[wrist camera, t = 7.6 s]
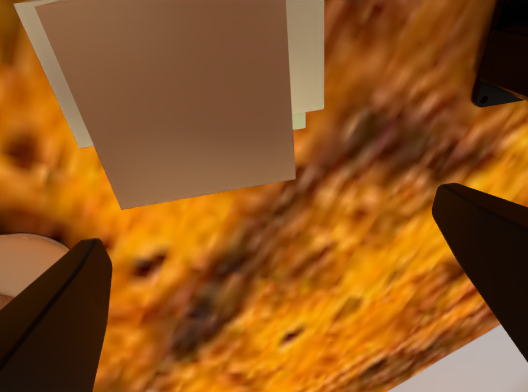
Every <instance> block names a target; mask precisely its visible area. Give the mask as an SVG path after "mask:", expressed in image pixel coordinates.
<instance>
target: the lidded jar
mask: <svg viewBox="0 0 528 392" xmlns="http://www.w3.org/2000/svg"><path fill="white" fill-rule="evenodd" d="M69 250H70V249H69V248H68V247H66V246H65V245H63V244H62V243H60V242H58V241H56V240H54V239H51V238H48V237H46V236H42V235H37V234H31V233H14V234H8V235H0V310H1V309H2V308H3V307H4V306H5V305H6V304H8V303H9V302H10V301H11V300H12V299H13V298H15V297H16V296H17V295H18V294H19V293H20V292H22V291H23V290H24V289H25V288H26V287H27V286H29V285H30V284H31V283H32V282H33V281H34V280H36V279H37V278H38V277H39V276H40V275H41V274H43V273H44V272H45V271H46V270H47V269H48V268H49V267H51V266H52V265H53V264H54V263H55V262H56V261H58V260H59V259H60V258H61V257H62V256H63V255H65V254H66V253H67V252H68V251H69Z"/></svg>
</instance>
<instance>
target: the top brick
mask: <svg viewBox="0 0 528 392" xmlns="http://www.w3.org/2000/svg"><path fill="white" fill-rule="evenodd" d="M35 9H36V12H37V14H38V16H39V19H40V21H41V23H42V26H43V28H44V30H45V33H46V35H47V37H48V40H49V42H50V44H51V47H52V49H53V51H54V54H55V56H56V58H57V61H58V63H59V65H60V68H61V70H62V72H63V75H64V77H65V79H66V82H67V84H68V86H69V89H70V91H71V93H72V96H73V98H74V100H75V103H76V105H77V107H78V110H79V112H80V114H81V117H82V119H83V121H84V124H85V126H86V128H87V131H88V133H89V135H90V138H91V140H92V142H93V145H94V147H95V149H96V152H97V154H98V156H99V159H100V161H101V163H102V166H103V168H104V170H105V173H106V175H107V177H108V180H109V182H110V184H111V187H112V189H113V191H114V193H115V196H116V198H117V200H118V203H119V205H120V207H121V210H122V209H128V208H134V207H139V206H145V205H151V204H156V203H162V202H168V201H173V200H179V199H185V198H190V197H196V196H202V195H207V194H213V193H219V192H224V191H230V190H236V189H241V188H247V187H253V186H258V185H264V184H270V183H275V182H281V181H287V180H292V179H296V177H295V159H294V141H293V122H292V104H291V86H290V68H289V50H288V32H287V14H286V0H60V1H56V2H52V3H47V4H43V5H39V6H35Z"/></svg>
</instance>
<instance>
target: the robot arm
mask: <svg viewBox="0 0 528 392" xmlns="http://www.w3.org/2000/svg"><path fill="white" fill-rule="evenodd" d="M507 1H508V0H498V2H497V6H496V10H495V14H494V18H493V22H492V25H491V29H490V33H489V37H488V41H487V45H486V49H485V53H484V56H483V60H482V64H481V68H480V72H479V76H478V80H477V83H476V87H475V91H474V95H473V99H472V102H473V104H474V105H476V106H478V107H487V106H493V105H499V104H505V103H511V102H517V101H523V100H526V101H528V0H510V1H509V3H508V4H507ZM483 96H484V97H483ZM482 97H483V99H482V100H481V98H482ZM480 100H481V101H480ZM432 215H433V218H434V220H435V222H436V223H437V225H438V227H439V229H440V231H441V233H442V234H443V236H444V238H445V240H446V242H447V243H448V245H449V247H450V249H451V251H452V253H453V254H454V256H455V258H456V259H457V261H458V263H459V264H460V266H461V267H462V269H463V270H464V272H465V273H466V275H467V276H468V278H469V279H470V280H471V282H472V283H473V285H474V286H475V288H476V289H477V290H478V292H479V293H480V295H481V296H482V298H483V299H484V301H485V302H486V303H487V305H488V306H489V308H490V309H491V311H492V312H493V313H494V315H495V316H496V318H497V319H498V321H499V322H500V323H501V325H502V326H503V328H504V329H505V331H506V332H507V333H508V335H509V336H510V338H511V339H512V341H513V342H514V343H515V345H516V346H517V348H518V349H519V351H520V352H521V354H522V355H523V356H524V358H525V359H526V361H527V362H528V207H525V206H522V205H519V204H516V203H513V202H511V201H508V200H505V199H502V198H499V197H496V196H493V195H490V194H487V193H484V192H481V191H478V190H475V189H472V188H470V187H467V186H464V185H461V184H458V183H449V184H442V185H440V186H439V187H438V188H437V191H436V195H435V199H434V203H433V207H432ZM111 278H112V263H111V260H110V257H109V255H108V253H107V251H106V249H105V247H104V244H103V242H102V241H101V240H100V239H99V238H91V239H85V240H81V241H80V242H79V243H77V244H76V245H75V246H74V247H73V248H72V249H70V250H69V251H68V252H67V253H66V254H65V255H63V256H62V257H61V258H60V259H59V260H58V261H56V262H55V263H54V264H53V265H52V266H51V267H49V268H48V269H47V270H46V271H45V272H44V273H43V274H41V275H40V276H39V277H38V278H37V279H36V280H34V281H33V282H32V283H31V284H30V285H29V286H27V287H26V288H25V289H24V290H23V291H22V292H20V293H19V294H18V295H17V296H16V297H15V298H13V299H12V300H11V301H10V302H9V303H8V304H6V305H5V306H4V307H3V308H2V309H1V310H0V392H92V391H93V387H94V382H95V378H96V373H97V368H98V364H99V359H100V355H101V350H102V346H103V341H104V336H105V331H106V326H107V319H108V310H109V299H110V288H111Z"/></svg>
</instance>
